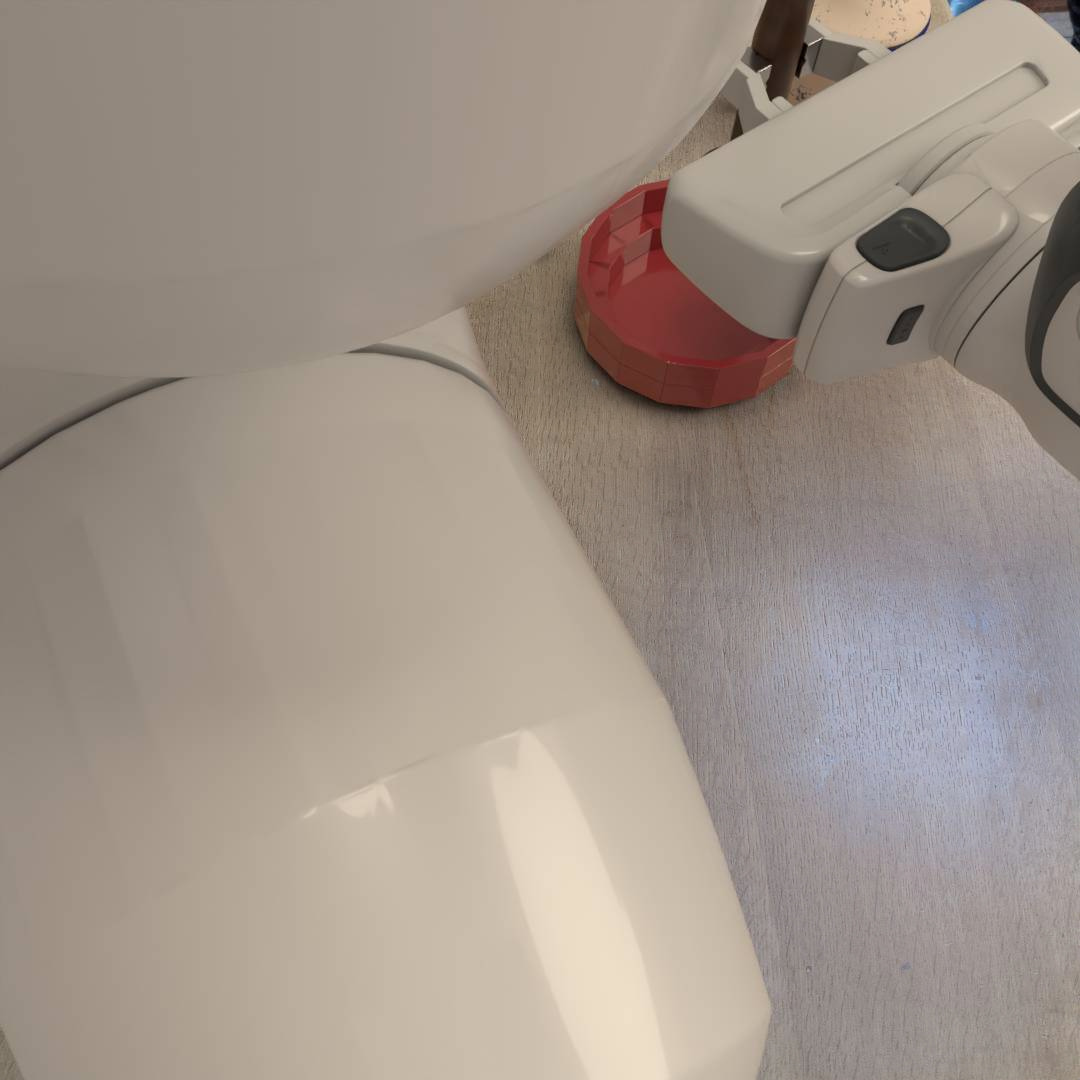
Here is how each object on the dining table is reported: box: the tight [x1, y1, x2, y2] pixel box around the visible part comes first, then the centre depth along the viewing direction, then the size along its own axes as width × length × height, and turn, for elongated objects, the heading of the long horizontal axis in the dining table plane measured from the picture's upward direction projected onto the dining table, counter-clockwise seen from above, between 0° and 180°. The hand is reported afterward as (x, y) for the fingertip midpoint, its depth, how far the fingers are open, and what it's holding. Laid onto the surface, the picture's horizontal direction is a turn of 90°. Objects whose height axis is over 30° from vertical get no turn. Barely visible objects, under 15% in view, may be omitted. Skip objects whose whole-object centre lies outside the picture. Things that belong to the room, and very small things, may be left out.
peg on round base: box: [701, 0, 815, 157], centre depth 47 cm, size 5×5×18 cm
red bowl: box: [573, 178, 797, 409], centre depth 62 cm, size 14×14×4 cm
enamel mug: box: [788, 0, 932, 106], centre depth 67 cm, size 12×9×12 cm
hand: (759, 50), depth 47 cm, fingers closed on peg on round base, 2 cm apart
